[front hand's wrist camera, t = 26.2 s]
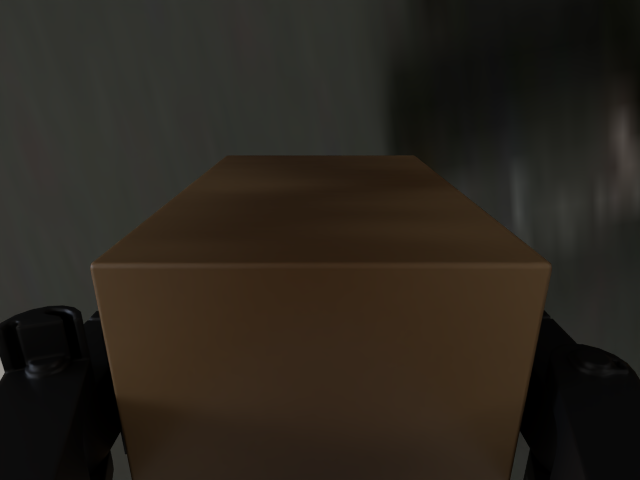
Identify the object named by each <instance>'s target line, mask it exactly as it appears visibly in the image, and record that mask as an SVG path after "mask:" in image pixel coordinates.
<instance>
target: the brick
mask: <svg viewBox="0 0 640 480" xmlns="http://www.w3.org/2000/svg"><path fill="white" fill-rule="evenodd" d="M90 269H91V274H92V279H93V284H94V289H95V294H96V299H97V304H98V309H99V315H100V320H101V325H102V330H103V335H104V340H105V345H106V350H107V355H108V360H109V365H110V370H111V376H112V381H113V386H114V391H115V396H116V401H117V406H118V411H119V416H120V421H121V426H122V431H123V437H124V442H125V447H126V452H127V457H128V462H129V467H130V472H131V477H132V480H510V477H511V472H512V467H513V462H514V457H515V452H516V447H517V442H518V437H519V432H520V427H521V422H522V417H523V412H524V407H525V402H526V397H527V391H528V386H529V381H530V376H531V371H532V366H533V361H534V356H535V351H536V346H537V341H538V336H539V331H540V326H541V321H542V316H543V311H544V306H545V301H546V296H547V291H548V286H549V281H550V276H551V271H552V266H551V263H550V262H548V261H547V260H546V259H545V258H543V257H542V256H541V255H539V254H538V253H537V252H536V251H534V250H533V249H532V248H531V247H529V246H528V245H527V244H526V243H524V242H523V241H522V240H521V239H519V238H518V237H517V236H515V235H514V234H513V233H512V232H510V231H509V230H508V229H507V228H505V227H504V226H503V225H502V224H500V223H499V222H498V221H496V220H495V219H494V218H493V217H491V216H490V215H489V214H488V213H486V212H485V211H484V210H483V209H481V208H480V207H479V206H477V205H476V204H475V203H474V202H472V201H471V200H470V199H469V198H467V197H466V196H465V195H464V194H462V193H461V192H460V191H458V190H457V189H456V188H455V187H453V186H452V185H451V184H450V183H448V182H447V181H446V180H445V179H443V178H442V177H441V176H440V175H438V174H437V173H436V172H434V171H433V170H432V169H431V168H429V167H428V166H427V165H426V164H424V163H423V162H422V161H421V160H419V159H418V158H417V157H415V156H226V157H225V158H223V159H222V160H221V161H220V162H218V163H217V164H216V165H215V166H213V167H212V168H211V169H209V170H208V171H207V172H206V173H204V174H203V175H202V176H201V177H199V178H198V179H197V180H196V181H194V182H193V183H192V184H191V185H189V186H188V187H187V188H186V189H184V190H183V191H182V192H181V193H179V194H178V195H177V196H176V197H174V198H173V199H172V200H170V201H169V202H168V203H167V204H165V205H164V206H163V207H162V208H160V209H159V210H158V211H157V212H155V213H154V214H153V215H152V216H150V217H149V218H148V219H147V220H145V221H144V222H143V223H142V224H140V225H139V226H138V227H137V228H135V229H134V230H133V231H131V232H130V233H129V234H128V235H126V236H125V237H124V238H123V239H121V240H120V241H119V242H118V243H116V244H115V245H114V246H113V247H111V248H110V249H109V250H108V251H106V252H105V253H104V254H103V255H101V256H100V257H99V258H98V259H96V260H95V261H94V262H92V264H91V268H90Z"/></svg>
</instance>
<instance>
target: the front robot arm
mask: <svg viewBox="0 0 640 480" xmlns="http://www.w3.org/2000/svg"><path fill="white" fill-rule="evenodd" d="M0 358H1V361H2V364H3V368H4V371H5V373H4V375H3V377H2V379H1V380H0V480H112V478H113V471H114V468H113V460H112V456H111V451H110V449H111V448H112V446H113V444H114V442H115V440H116V439H117V437H118V435H119V433H120V432H121V436H122V441H123V446H124V451H125V454H127V452H126V447H125V442H124V437H123V431H122V426H121V421H120V416H119V411H118V406H117V401H116V396H115V391H114V386H113V381H112V376H111V370H110V365H109V360H108V355H107V350H106V345H105V340H104V335H103V330H102V325H101V320H100V315H99V311H96V312H95V313H94V314H93V315H92V316H91V317H90V320H87V321H86V322H85V324H83V320H82V315H81V312H80V311H79V310H77V309H76V308H74V307H69V306H47V307H42V308H37V309H32V310H29V311H26V312H23V313H20V314H18V315H15V316H13V317H11V318H9V319H7V320H5V321H4V322H2V323H1V324H0ZM520 432H521V433H522V435H523V437H524V439H525V440H526V442H527V444H528V446H529V447H530V451H529V456H528V460H527V465H526V470H525V474H524V479H523V480H640V379H639V378H638V376H637V374H636V373H635V371H634V370H633V369H632V368H631V367H630V366H629V365H628V363H626V362H625V361H623V360H622V359H620V358H619V357H617V356H615V355H614V354H611V353H609V352H607V351H604V350H602V349H599V348H595V347H591V346H587V345H583V344H577V343H576V342H575V341H574V340H573V339H572V338H571V337H570V336H569V335H568V334H567V333H566V332H565V331H564V330H563V329H562V328H561V327H560V326H559V325H558V324H557V323H556V322H555V321H554V320H553V319H550V316H549V315H548V314H547V313H546V312H545V311H543V316H542V321H541V326H540V331H539V336H538V341H537V346H536V351H535V356H534V361H533V366H532V371H531V376H530V381H529V386H528V391H527V397H526V402H525V407H524V412H523V417H522V422H521V427H520Z"/></svg>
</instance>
